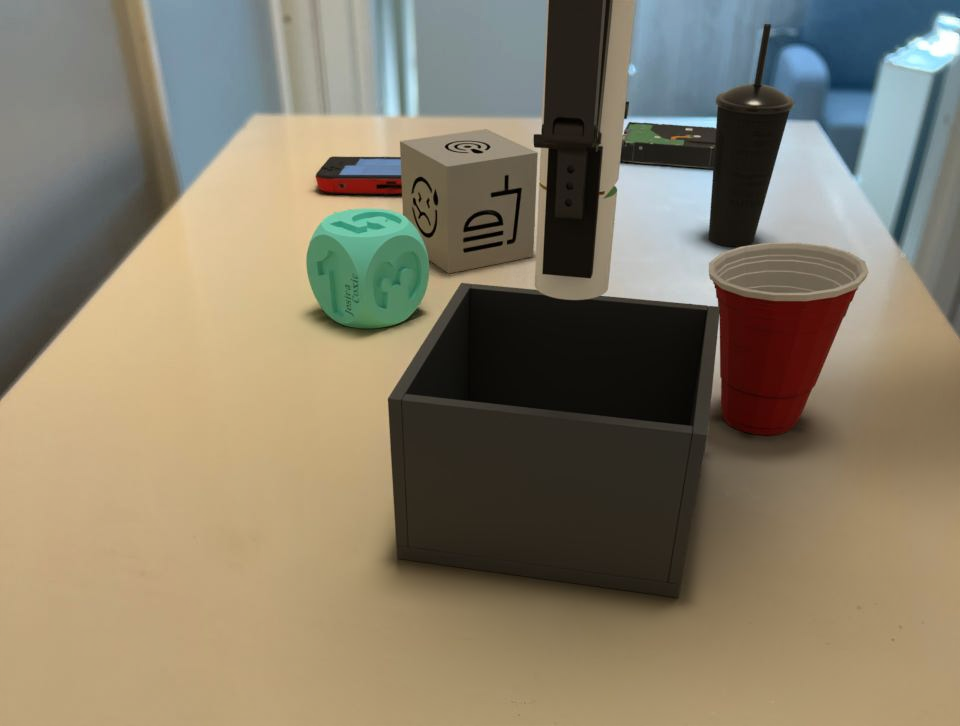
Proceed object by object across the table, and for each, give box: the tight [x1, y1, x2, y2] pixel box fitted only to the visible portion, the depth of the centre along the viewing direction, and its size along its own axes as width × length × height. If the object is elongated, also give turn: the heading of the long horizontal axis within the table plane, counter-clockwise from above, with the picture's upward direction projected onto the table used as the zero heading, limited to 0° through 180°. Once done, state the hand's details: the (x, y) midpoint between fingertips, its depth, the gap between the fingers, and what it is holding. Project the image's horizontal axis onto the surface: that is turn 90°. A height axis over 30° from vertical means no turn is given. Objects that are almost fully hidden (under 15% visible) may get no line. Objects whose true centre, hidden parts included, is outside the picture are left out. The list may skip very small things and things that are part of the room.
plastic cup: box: [708, 242, 869, 436], centre depth 73 cm, size 11×11×12 cm
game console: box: [315, 155, 402, 195], centre depth 121 cm, size 14×13×2 cm
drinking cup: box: [708, 23, 795, 248], centre depth 101 cm, size 8×8×20 cm
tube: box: [534, 0, 636, 300], centre depth 53 cm, size 4×4×15 cm
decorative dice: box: [305, 207, 430, 329], centre depth 89 cm, size 8×8×8 cm
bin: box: [387, 282, 720, 599], centre depth 64 cm, size 18×18×11 cm
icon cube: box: [399, 128, 539, 275], centre depth 101 cm, size 10×10×10 cm
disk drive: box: [620, 121, 716, 170], centre depth 131 cm, size 10×3×15 cm
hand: (574, 257), depth 57 cm, fingers closed on tube, 4 cm apart
